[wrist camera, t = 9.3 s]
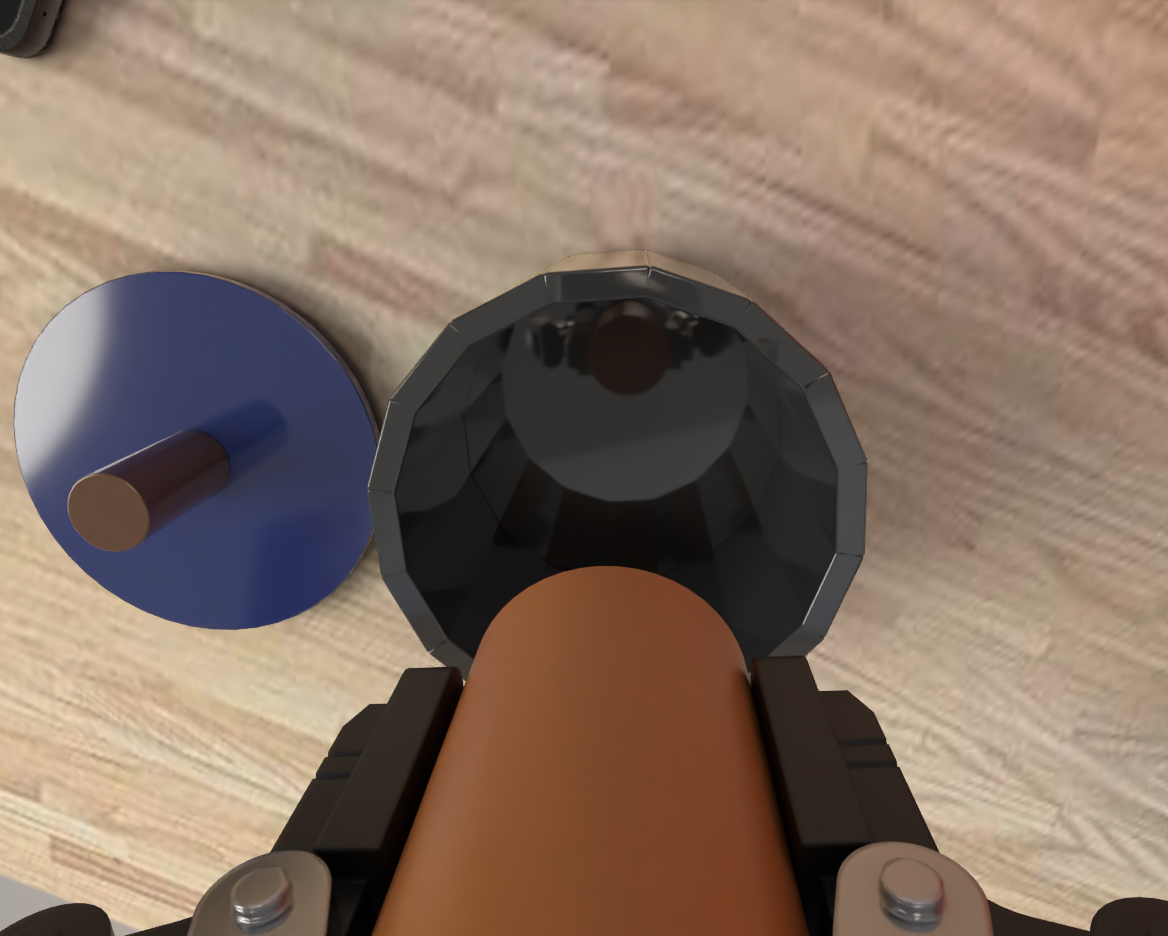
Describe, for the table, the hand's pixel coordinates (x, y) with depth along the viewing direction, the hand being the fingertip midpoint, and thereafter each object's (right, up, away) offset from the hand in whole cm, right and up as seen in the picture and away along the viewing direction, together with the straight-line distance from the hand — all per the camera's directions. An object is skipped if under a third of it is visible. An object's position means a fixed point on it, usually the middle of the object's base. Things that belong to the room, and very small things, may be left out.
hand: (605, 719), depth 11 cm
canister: (+1, +5, +16) cm, 16 cm away
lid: (-14, +4, +16) cm, 22 cm away
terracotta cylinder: (0, 0, +1) cm, 1 cm away
